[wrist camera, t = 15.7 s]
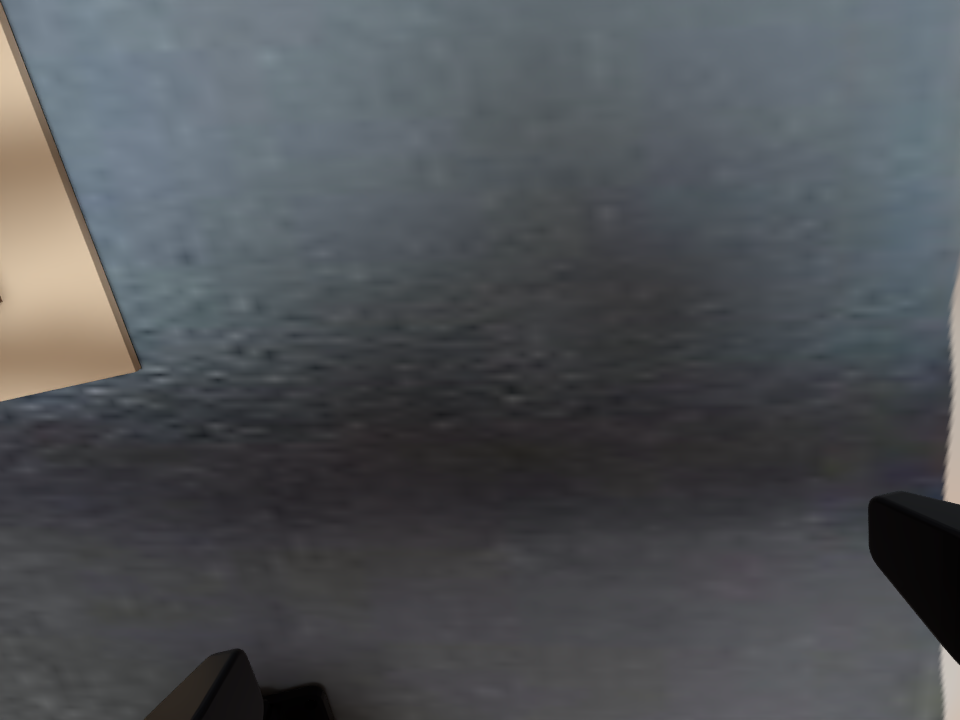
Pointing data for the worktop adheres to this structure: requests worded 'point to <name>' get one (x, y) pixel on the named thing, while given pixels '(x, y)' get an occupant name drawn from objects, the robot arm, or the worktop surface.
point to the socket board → (47, 257)
